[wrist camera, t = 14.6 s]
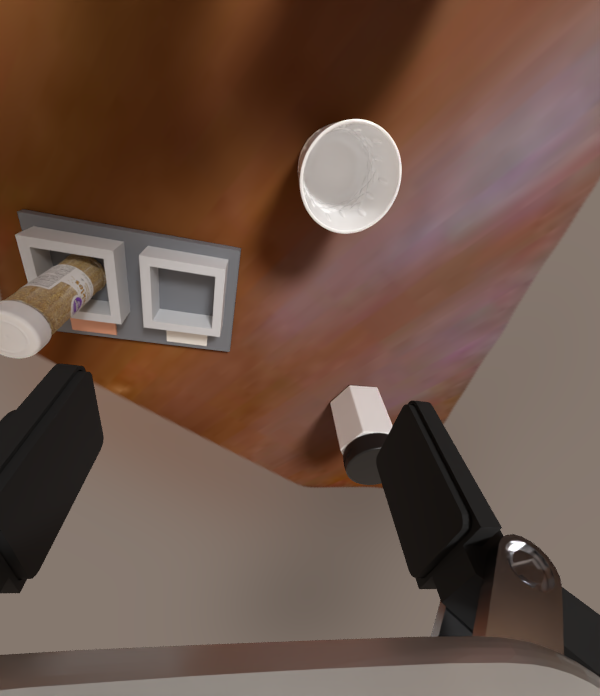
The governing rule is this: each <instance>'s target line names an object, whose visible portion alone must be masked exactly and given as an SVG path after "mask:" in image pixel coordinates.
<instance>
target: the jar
mask: <svg viewBox="0 0 600 696" xmlns="http://www.w3.org/2000/svg"><path fill="white" fill-rule="evenodd" d="M330 405H331V409H332V414H333V419H334V423H335V428H336V433H337V437H338V442H339V446H340V450H341V452H342V454H343V460H344V461H343V462H344V466H345V470H346V473H347V475H348V477H349V478H350V479H351V480H353V481H354V482H356V483H359V484H365V485H374V484H380V483H382V482H381V479H380V476H379V472H378V469H377V466H376V458H377V455H378V453H379V451H380V449H381V447H382V445H383V443H384V441H385V440H386V438H387V436H388V434H389V432H390V430H391V428H392V426H393V425H392V423H391V420H390V418H389V415H388V413H387V411H386V408H385V406H384V403H383V401H382V398H381V396H380V393H379V391H378V388H377V387H366V386H352V385H349V386H348V387H347V388H346V389H345V390H344V391H343V392H341V393H340V394H339V395H338V396H337V397H336V398H335V399H334V400H332V401H331V402H330Z"/></svg>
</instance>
